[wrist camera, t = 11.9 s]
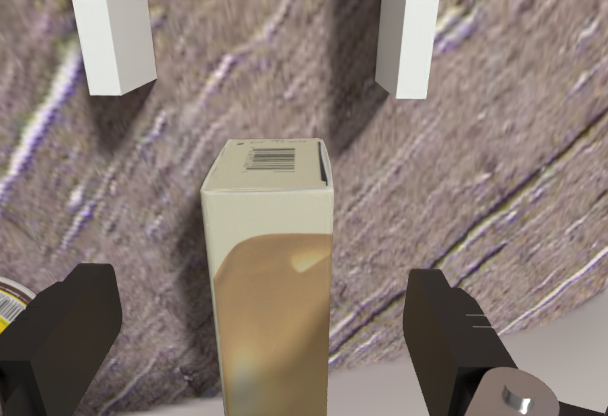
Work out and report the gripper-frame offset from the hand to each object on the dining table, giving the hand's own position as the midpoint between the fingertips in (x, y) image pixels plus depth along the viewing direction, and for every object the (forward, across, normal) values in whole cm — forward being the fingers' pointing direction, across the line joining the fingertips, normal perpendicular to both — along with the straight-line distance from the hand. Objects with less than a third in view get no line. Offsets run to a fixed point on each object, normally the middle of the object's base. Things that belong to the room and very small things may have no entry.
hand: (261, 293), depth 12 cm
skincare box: (+5, 0, -2) cm, 6 cm away
